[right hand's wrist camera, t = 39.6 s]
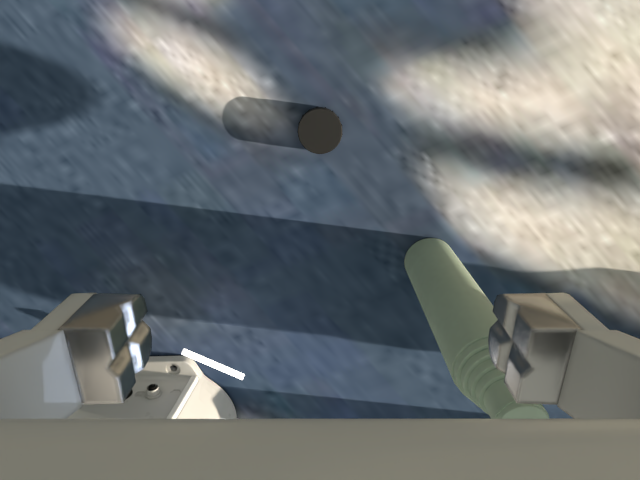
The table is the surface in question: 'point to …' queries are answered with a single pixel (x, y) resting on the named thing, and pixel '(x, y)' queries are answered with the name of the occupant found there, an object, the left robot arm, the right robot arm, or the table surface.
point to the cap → (320, 130)
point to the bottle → (462, 328)
